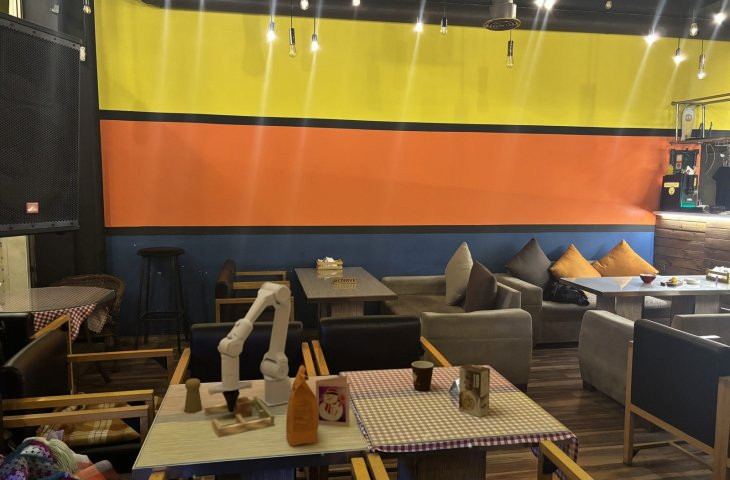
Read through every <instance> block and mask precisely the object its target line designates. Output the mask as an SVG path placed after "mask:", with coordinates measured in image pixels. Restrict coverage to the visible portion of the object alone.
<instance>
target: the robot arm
mask: <svg viewBox="0 0 730 480" xmlns="http://www.w3.org/2000/svg"><path fill="white" fill-rule="evenodd" d="M291 294H292V291H291V290H290V289H289V287H288V286H287V285H285V284H278V283H272V282H271V281H267V282H264V283H263V284H262V285H261V288H260V289H259V290H258V291H257V297H256V298H255V301H254V302H253V303H252V305H251V307H250V308H249V310H248V312H247V313H246V314H245V317H244V318H240V319H238V320H237V321H236V322H235V324H234V326H233V328H232V329H231V330H230V332H229V333H228V334H227V336H226V337H224V338H223V339H221V340H220V342H219V345H218V346H217V350H218V352H219V353H220V357H221V384H219V385H216V386H215V385H214V386H211V387H208V389H207V391H208V395H209V396H213V395H215V394H220V393H221V394H222V395H223V397H224V400H225V404H226V403H227V406H228V411H227V412H228V413H233V411H234V406H235V403H236V400H237V398H239V397H240V391H239V390H245V389H246V390H247V389H248V390H249V389H253V382H252V381H240V356H239V355H241V353H242V352H243V346H244V343H245V341H246V340H247V338H248V337H249V335H250V334H251V332H252V330H253V329H254V326H253V324H254V323H255V321H256V320H257V319H258V317H260V315H261V314H262V312H263V311H265V309H266V307H270V306H273V307H274V309H275V311H274V315H273V316H274V318H273V324H272V329H271V330H272V331H271V337H270V342H269V349H268V351H267V352H266V353H265V354H264V355H263V358H262V359H263V360H262V361H261V363H260V367H259V368H260V372H261V373H262V374H263V378H264V397H261V398H260V401H261V402H262V403H263V404H264V405H265V406H266V407H274V406H279V405H284V404H288V402H289V398H290V394H291V389H292V381H291V378H290V377H289V375H288V373H289V365H288V362H289V359H288V357H287V356H286V354H285V349H286V348H285V347H286V341H287V335H288V328H289V322H290V316H291V309H292V302H291Z"/></svg>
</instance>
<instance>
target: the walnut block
mask: <svg viewBox="0 0 730 480" xmlns="http://www.w3.org/2000/svg"><path fill="white" fill-rule="evenodd" d="M249 399H250V398H249V397H248V396H241V397H238V398H237V400H236V403H235V406H234V411H233V412H232V414H233V413H234V414H233V415H234V416H235V415H238V414H240V415H241V417H242V418H243V419H245V418H249V417H250V418H251V417H253V407H252V402H251V401H250V400H249Z"/></svg>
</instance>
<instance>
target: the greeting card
mask: <svg viewBox="0 0 730 480" xmlns="http://www.w3.org/2000/svg"><path fill="white" fill-rule="evenodd" d="M350 383H351V382H348V375H343V376H342V375H341V376H337V377H330V378H324V379H318V380H315V397H316V400H317V407H318V420H319V421H318V426H319V425H320V426H322V425H323V426H335V427H348V428H349V427H350V398H351V395H350V392H351V391H350V387H351V386H350Z"/></svg>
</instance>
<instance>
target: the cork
mask: <svg viewBox="0 0 730 480" xmlns="http://www.w3.org/2000/svg"><path fill="white" fill-rule="evenodd" d="M184 387H185V389H186V392H185V393H186V394H185V403H184V412H185V413H187V414H197V413H199V411H200V412H201V411H202V410H203V405H202V399H201V393H200V392H201V391H200V388H201V380H200V379H198V378H188V379H187V380H186V382H185V383H184ZM196 412H197V413H196Z"/></svg>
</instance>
